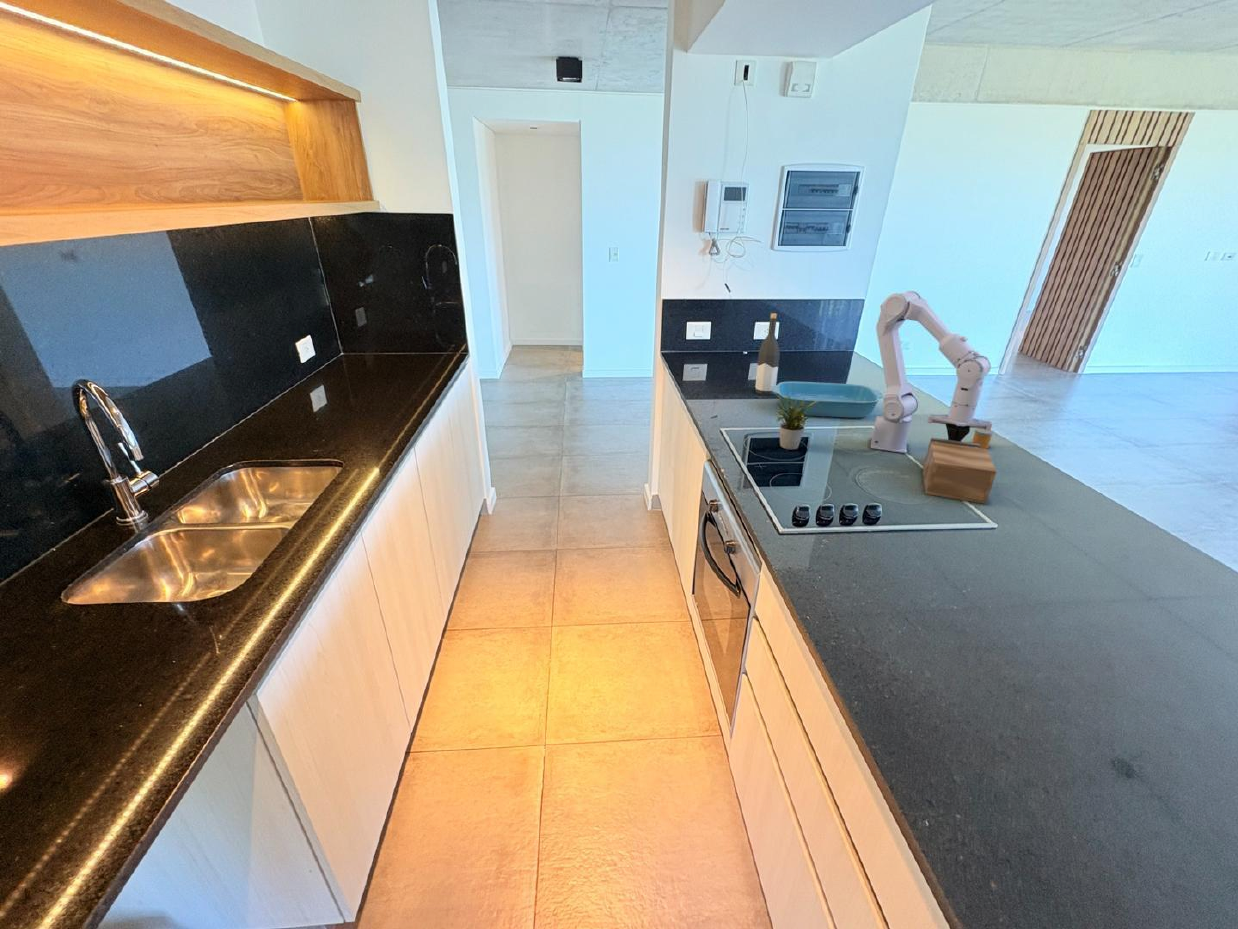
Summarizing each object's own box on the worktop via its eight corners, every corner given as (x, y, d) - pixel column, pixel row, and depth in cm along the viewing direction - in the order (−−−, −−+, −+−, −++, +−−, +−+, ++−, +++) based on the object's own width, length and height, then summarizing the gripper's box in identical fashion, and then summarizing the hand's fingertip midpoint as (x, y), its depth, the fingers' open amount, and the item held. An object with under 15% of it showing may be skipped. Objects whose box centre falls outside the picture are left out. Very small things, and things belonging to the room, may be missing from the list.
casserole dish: (771, 416, 182) (773, 396, 179) (768, 397, 202) (770, 378, 199) (885, 423, 175) (890, 402, 172) (871, 403, 195) (874, 384, 192)
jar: (971, 447, 157) (976, 432, 155) (969, 441, 160) (974, 427, 158) (989, 449, 155) (994, 434, 153) (987, 444, 159) (992, 429, 157)
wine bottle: (778, 390, 209) (787, 313, 197) (771, 396, 203) (781, 316, 190) (758, 387, 213) (766, 311, 201) (751, 392, 207) (759, 314, 194)
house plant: (751, 445, 158) (757, 393, 151) (773, 433, 167) (780, 383, 160) (796, 459, 149) (804, 403, 142) (817, 445, 158) (826, 392, 152)
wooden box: (922, 470, 142) (930, 441, 138) (977, 479, 137) (987, 449, 133) (925, 493, 130) (934, 462, 126) (985, 504, 125) (996, 471, 121)
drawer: (923, 453, 150) (929, 431, 147) (970, 460, 146) (977, 437, 143) (927, 479, 135) (934, 455, 132) (979, 488, 131) (987, 463, 128)
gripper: (933, 403, 138) (921, 451, 144) (999, 411, 132) (984, 460, 138) (932, 396, 144) (920, 442, 150) (994, 403, 138) (980, 450, 144)
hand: (950, 450), depth 144 cm, fingers closed, pressing on drawer
